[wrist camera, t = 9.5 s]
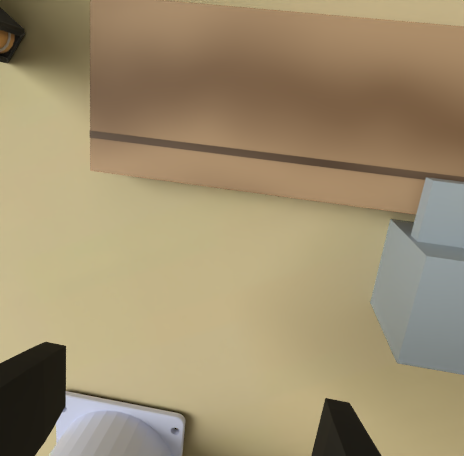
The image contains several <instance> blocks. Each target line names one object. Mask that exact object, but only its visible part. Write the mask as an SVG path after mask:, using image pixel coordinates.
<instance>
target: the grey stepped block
mask: <svg viewBox="0 0 464 456" xmlns="http://www.w3.org/2000/svg"><path fill="white" fill-rule="evenodd" d="M370 303H371V305H372V308H373V310H374V312H375V314H376V317H377V319H378V321H379V324H380V326H381V328H382V330H383V333H384V335H385V337H386V339H387V342H388V344H389V346H390V349H391V351H392V353H393V355H394V358H395V360H396V362H397V363H399V364H405V365H410V366H416V367H422V368H428V369H433V370H439V371H445V372H451V373H456V374H462V375H464V182H460V181H452V180H444V179H436V178H428V177H426V179H425V183H424V187H423V191H422V194H421V198H420V202H419V206H418V210H417V213H416V217H415V221H414V222H408V221H401V220H394V219H390V223H389V227H388V231H387V236H386V240H385V244H384V248H383V252H382V256H381V261H380V265H379V269H378V273H377V277H376V281H375V285H374V290H373V294H372V298H371V302H370Z"/></svg>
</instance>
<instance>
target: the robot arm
mask: <svg viewBox="0 0 464 456" xmlns="http://www.w3.org/2000/svg"><path fill="white" fill-rule="evenodd" d="M185 422H186V421H185V418H184V416H183V415H181V414H179V413H175V412H170V411H165V410H160V409H155V408H150V407H144V406H139V405H134V404H129V403H124V402H119V401H114V400H109V399H104V398H99V397H93V396H88V395H83V394H78V393H73V392H68V391H66V346H64V345H59V344H54V343H49V342H44V343H42V344H39V345H37V346H35V347H33V348H31V349H29V350H26V351H24V352H22V353H20V354H18V355H16V356H14V357H12V358H10V359H8V360H6V361H4V362H2V363H0V456H35V455H36V453H37V452H38V450H39V449H40V448H41V446H42V445H43V444H44V442H45V441H46V439H47V437H48V436H49V434H50V432H51V431H52V429H53V427H54V426H55V424H56V438H57V444H56V445H55V447H54V448H53V450H52V451H51V452H50V454H49V455H48V456H182V455H183V444H184V433H185ZM174 428H178V429H179V430H177V429H174ZM312 456H381V454H380V453H379V451H378V449H377V448H376V446H375V444H374V443H373V441H372V440H371V438H370V436H369V435H368V433H367V431H366V430H365V428H364V426H363V425H362V423H361V421H360V420H359V418H358V416H357V414H356V413H355V411H354V409H353V408H352V406H351V405H350V403H347V402H342V401H337V400H333V399H328V398H325V403H324V407H323V411H322V415H321V419H320V423H319V427H318V431H317V435H316V439H315V443H314V448H313V452H312Z"/></svg>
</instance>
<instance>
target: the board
mask: <svg viewBox="0 0 464 456" xmlns="http://www.w3.org/2000/svg"><path fill="white" fill-rule="evenodd" d="M90 171H97V172H104V173H112V174H119V175H127V176H134V177H142V178H149V179H156V180H164V181H171V182H179V183H186V184H193V185H201V186H208V187H216V188H223V189H230V190H238V191H245V192H253V193H260V194H268V195H275V196H282V197H290V198H297V199H305V200H312V201H319V202H327V203H334V204H342V205H349V206H356V207H364V208H371V209H379V210H386V211H394V212H401V213H408V214H416V213H417V210H418V206H419V202H420V198H421V194H422V191H423V187H424V183H425V179H426V177H428V178H436V179H444V180H452V181H460V182H464V27H463V26H451V25H440V24H428V23H417V22H405V21H394V20H382V19H371V18H359V17H348V16H336V15H325V14H313V13H302V12H290V11H279V10H267V9H256V8H244V7H233V6H221V5H210V4H198V3H187V2H175V1H164V0H90Z"/></svg>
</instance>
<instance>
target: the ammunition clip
mask: <svg viewBox="0 0 464 456" xmlns="http://www.w3.org/2000/svg"><path fill="white" fill-rule="evenodd" d="M24 35H25V31H24V28H22V27H21V26H20V25H19V24H18V23H17V22H16V21H15V20H14V19H13V18H11V17H10V16H9V15H8V14H7V13H6V12H5V11H4V10H3V9H1V8H0V62H4V63H8V62H9V60H10V58H11V57H12V55H13V53H14V52H15V50H16V48H17V46H18V45H19V43H20V41H21V40H22V38H23V36H24Z"/></svg>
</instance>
